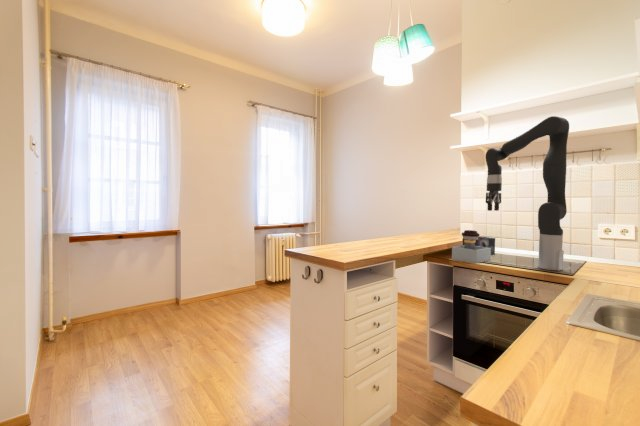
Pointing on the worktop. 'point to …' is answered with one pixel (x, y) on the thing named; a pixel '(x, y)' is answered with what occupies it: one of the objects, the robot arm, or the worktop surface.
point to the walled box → (471, 254)
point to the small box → (487, 243)
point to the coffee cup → (470, 236)
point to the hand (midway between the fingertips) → (493, 210)
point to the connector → (469, 244)
